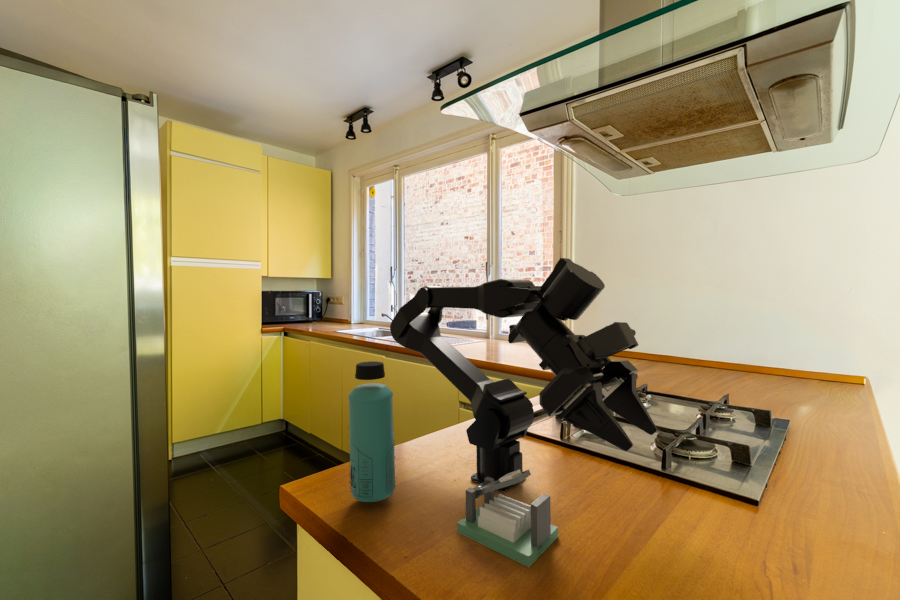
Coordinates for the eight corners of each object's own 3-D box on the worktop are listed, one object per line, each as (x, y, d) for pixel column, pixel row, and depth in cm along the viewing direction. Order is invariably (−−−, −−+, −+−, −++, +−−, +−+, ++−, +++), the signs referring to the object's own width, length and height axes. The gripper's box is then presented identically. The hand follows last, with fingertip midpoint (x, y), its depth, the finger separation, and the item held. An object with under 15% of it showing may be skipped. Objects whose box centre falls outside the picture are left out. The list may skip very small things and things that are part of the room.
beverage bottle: (405, 501, 57) (403, 361, 57) (365, 520, 52) (362, 368, 52) (379, 485, 62) (377, 356, 61) (340, 502, 57) (337, 362, 57)
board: (457, 532, 49) (456, 485, 49) (489, 508, 55) (489, 466, 55) (528, 567, 43) (528, 514, 43) (558, 537, 48) (557, 489, 48)
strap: (473, 499, 51) (469, 489, 51) (484, 492, 52) (480, 482, 53) (521, 484, 46) (516, 473, 46) (532, 477, 48) (527, 466, 48)
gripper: (561, 296, 45) (674, 408, 37) (620, 304, 59) (712, 387, 51) (504, 363, 50) (593, 476, 42) (571, 356, 64) (648, 439, 55)
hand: (643, 440), depth 47 cm, fingers open, 9 cm apart
